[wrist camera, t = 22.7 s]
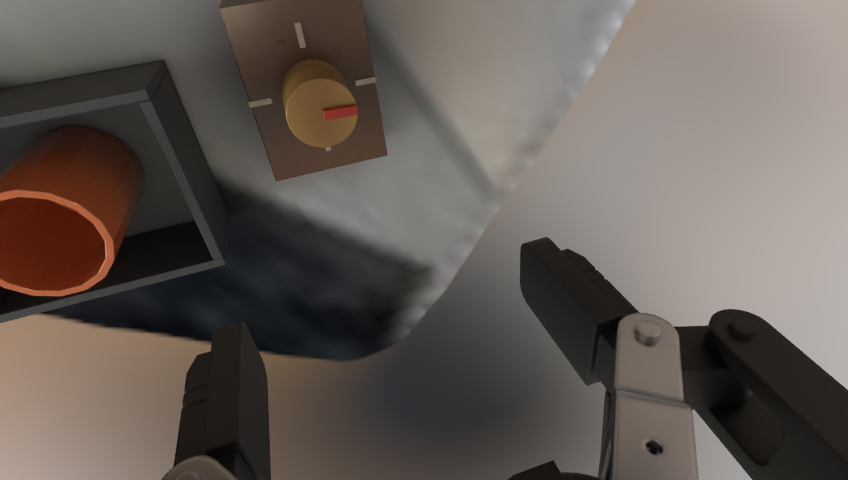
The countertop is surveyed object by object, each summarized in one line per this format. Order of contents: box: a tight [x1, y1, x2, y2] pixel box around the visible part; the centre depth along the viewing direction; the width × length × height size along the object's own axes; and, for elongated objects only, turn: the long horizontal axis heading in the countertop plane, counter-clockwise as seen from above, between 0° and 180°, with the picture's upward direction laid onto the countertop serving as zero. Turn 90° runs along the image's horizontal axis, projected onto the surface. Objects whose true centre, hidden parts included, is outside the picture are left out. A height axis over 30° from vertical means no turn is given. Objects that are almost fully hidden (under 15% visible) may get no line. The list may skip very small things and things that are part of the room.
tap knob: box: [281, 59, 358, 147], centre depth 28 cm, size 4×4×5 cm
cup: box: [0, 126, 144, 296], centre depth 28 cm, size 6×6×9 cm
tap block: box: [219, 0, 387, 181], centre depth 31 cm, size 11×8×3 cm
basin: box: [0, 60, 229, 323], centre depth 29 cm, size 12×14×6 cm
